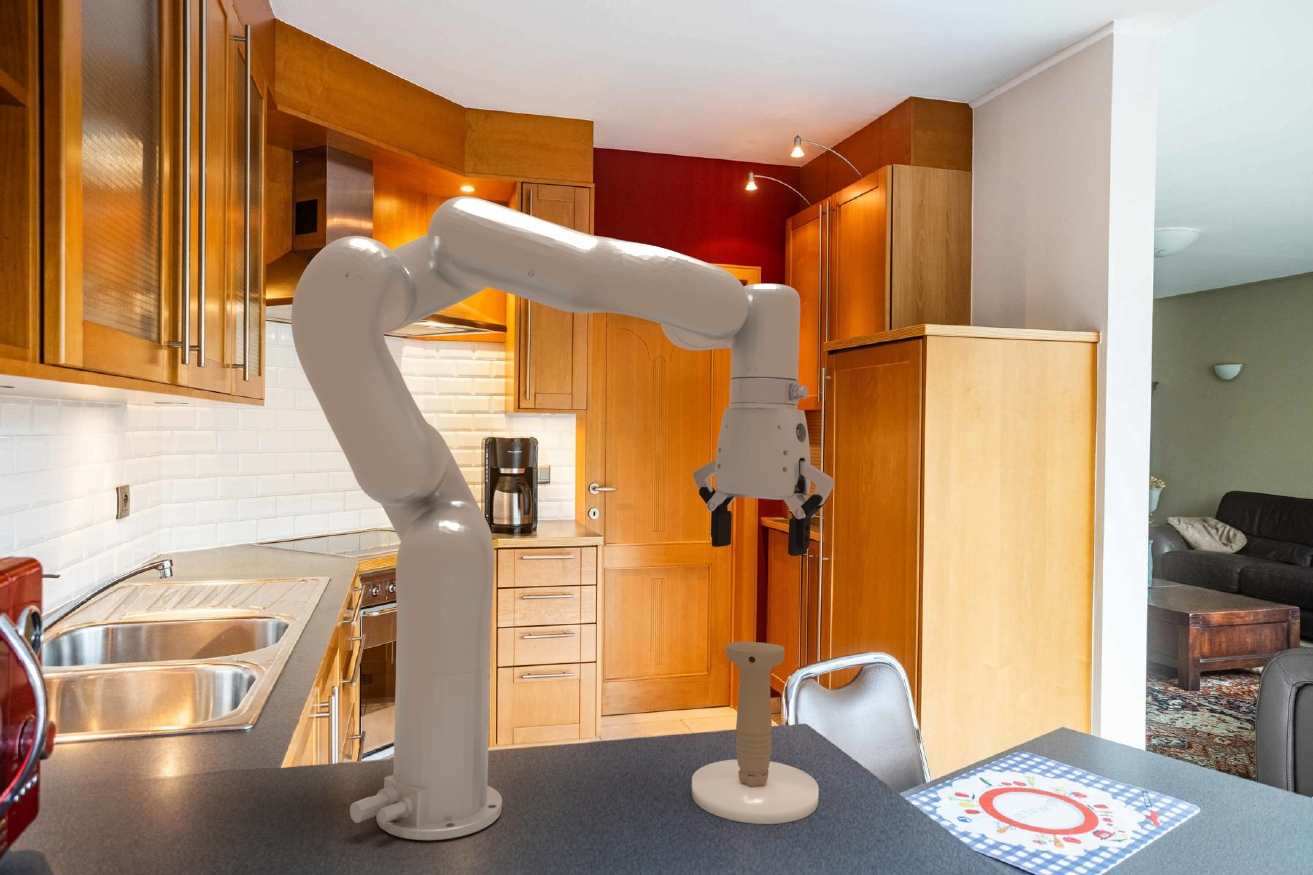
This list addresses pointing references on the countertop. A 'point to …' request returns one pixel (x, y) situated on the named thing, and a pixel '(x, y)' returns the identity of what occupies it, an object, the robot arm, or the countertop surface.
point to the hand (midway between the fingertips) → (758, 550)
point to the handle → (754, 707)
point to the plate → (755, 793)
